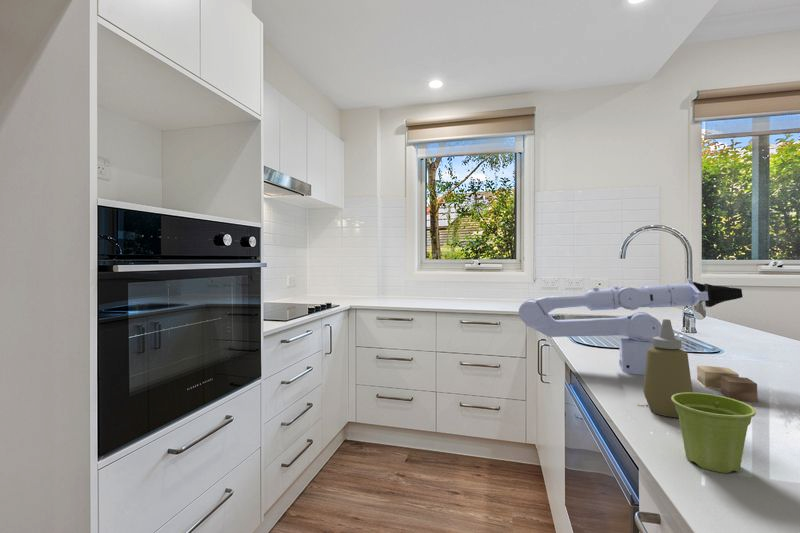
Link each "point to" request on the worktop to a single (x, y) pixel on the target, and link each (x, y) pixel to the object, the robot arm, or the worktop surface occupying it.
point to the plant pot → (713, 429)
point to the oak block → (713, 375)
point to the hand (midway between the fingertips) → (735, 291)
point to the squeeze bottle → (666, 372)
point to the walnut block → (739, 388)
